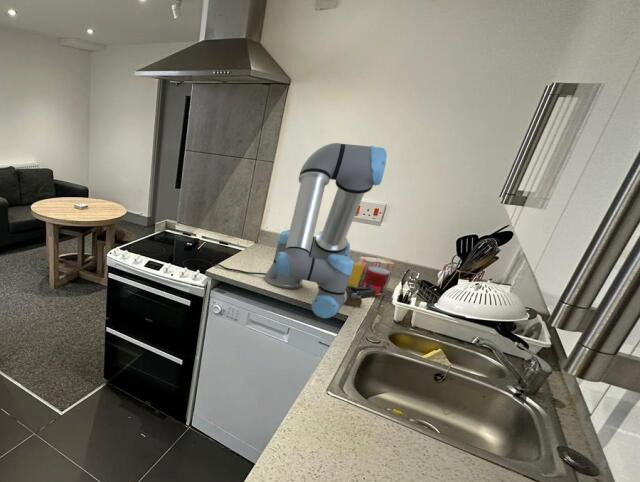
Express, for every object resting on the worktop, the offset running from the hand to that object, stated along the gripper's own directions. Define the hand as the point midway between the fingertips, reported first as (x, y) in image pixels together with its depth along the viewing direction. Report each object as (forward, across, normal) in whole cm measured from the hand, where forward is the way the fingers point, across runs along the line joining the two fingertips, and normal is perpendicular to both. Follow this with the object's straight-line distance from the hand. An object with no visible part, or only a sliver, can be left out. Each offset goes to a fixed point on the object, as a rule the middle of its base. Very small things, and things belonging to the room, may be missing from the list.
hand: (349, 279), depth 148 cm
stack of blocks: (+35, 0, -12) cm, 37 cm away
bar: (+8, 0, -6) cm, 10 cm away
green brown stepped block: (+8, 0, -12) cm, 14 cm away
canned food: (+27, +6, -12) cm, 30 cm away
